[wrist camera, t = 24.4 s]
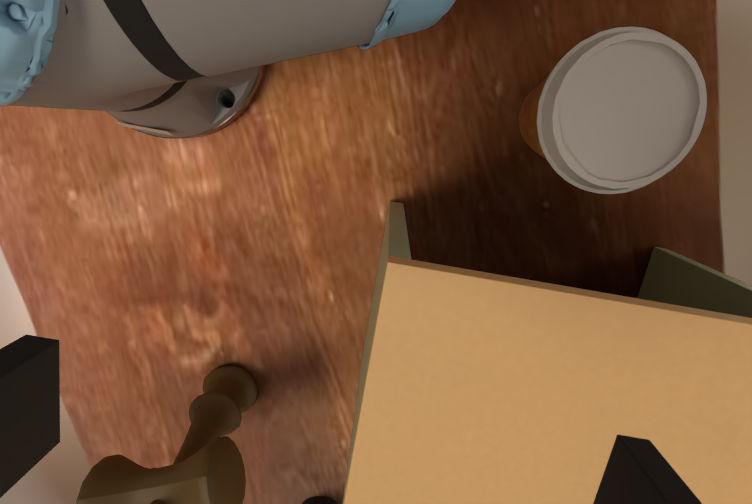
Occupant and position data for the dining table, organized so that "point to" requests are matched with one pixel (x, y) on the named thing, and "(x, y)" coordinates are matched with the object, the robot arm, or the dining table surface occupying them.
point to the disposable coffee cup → (617, 110)
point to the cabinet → (546, 382)
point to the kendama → (186, 454)
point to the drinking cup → (319, 501)
